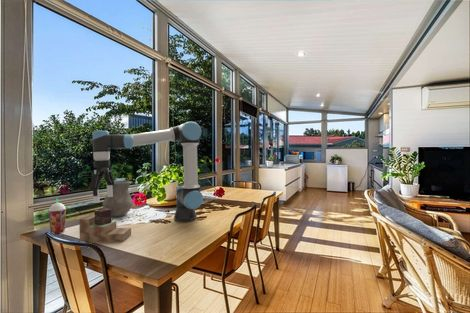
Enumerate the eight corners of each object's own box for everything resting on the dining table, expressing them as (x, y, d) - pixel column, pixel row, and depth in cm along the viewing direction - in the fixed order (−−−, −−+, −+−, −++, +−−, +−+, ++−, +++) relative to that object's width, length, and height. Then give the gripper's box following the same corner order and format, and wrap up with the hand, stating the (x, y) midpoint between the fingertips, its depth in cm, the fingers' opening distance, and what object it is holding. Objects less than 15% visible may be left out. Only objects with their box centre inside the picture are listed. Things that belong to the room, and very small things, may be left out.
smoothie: (70, 230, 140) (69, 197, 139) (55, 235, 132) (54, 200, 132) (60, 229, 143) (59, 196, 142) (45, 233, 135) (44, 199, 134)
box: (111, 222, 127) (111, 209, 127) (100, 225, 122) (100, 211, 122) (105, 221, 130) (105, 207, 130) (94, 223, 125) (94, 210, 125)
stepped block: (131, 234, 132) (130, 213, 131) (122, 241, 121) (122, 218, 121) (91, 235, 131) (90, 214, 131) (79, 242, 121) (78, 219, 120)
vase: (124, 211, 185) (123, 179, 185) (138, 214, 174) (137, 181, 174) (97, 217, 169) (96, 182, 169) (111, 221, 158) (110, 184, 158)
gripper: (106, 159, 138) (108, 195, 138) (79, 161, 113) (82, 205, 113) (119, 158, 138) (121, 194, 139) (95, 160, 113) (97, 204, 114)
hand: (103, 199), depth 126 cm, fingers open, 13 cm apart
